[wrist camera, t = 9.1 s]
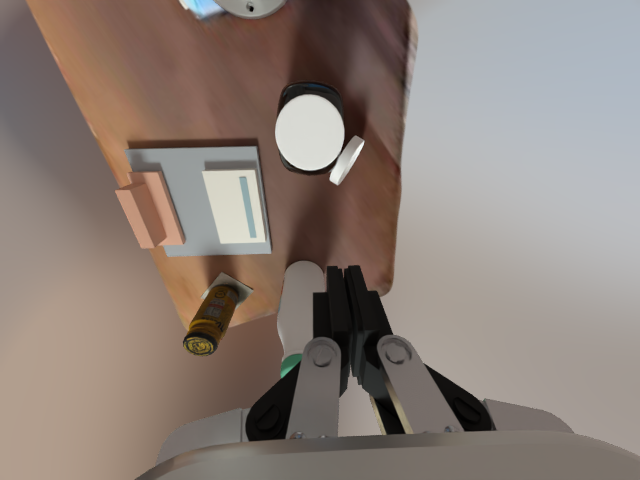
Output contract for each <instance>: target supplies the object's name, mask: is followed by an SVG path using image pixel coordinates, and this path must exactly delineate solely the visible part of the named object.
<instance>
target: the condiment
mask: <svg viewBox="0 0 640 480" xmlns="http://www.w3.org/2000/svg"><path fill="white" fill-rule="evenodd" d="M224 283H225V284H224ZM226 283H228V284H226ZM252 292H253V290H251V289H250V288H248V287H247V286H245V285H243V284H242V283H240V282H239V281H237V280H236V279H233V278H231V277H230V276H228V275H226V274H224V273H223V272H221V273H220V274H219V276H218V277H217V278H216V279H215V281H214V282H213V283H212V284H211V285H210V287H209V288H208V289H207V290H206V291H205V293H204V294H203V295H202V296H201V298H203V299H205V300H204V301H203V303H202V305H201V306H200V308H199V310H198V312H197V313H196V315H195V317H194V318H193V320H192V322H191V323H190V325H189V331H188V333H187V335H186V337H185V338H184V341H183V346H184V348H185V349H186V350H187V351H188V352H190V353H191V354H194V355H198V356H208V355H210V354H212V353H214V351H215V350H216V349H217V347H218V344H219V342H220V340H222V338H223V337H224V336H225V333H226V330H227V328H228V325H229V323H230V321H231V318H232V316H233V313H234V311H235V310H236V309H237V308H238V307H239V305H240V304H241V303H242V302H243V301H245V299H246V298H247V297H248V296H249V295H250V294H251V293H252Z"/></svg>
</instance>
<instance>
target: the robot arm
mask: <svg viewBox="0 0 640 480" xmlns="http://www.w3.org/2000/svg"><path fill="white" fill-rule="evenodd" d="M213 1H214V2H215V3H217V4H218V5H219V6H220V7H221V8H223V9H224V10H225V11H227V12H229V13H231V14H233V15H235V16H238V17H241V18H244V19H260V18H264V17H267V16H269V15H271V14H273V13H275V12H276V11H278V10H279V9H280V8H281V7H282V6H283V5H284V4H285V3H286V2H287V0H213ZM251 7H253V8H254V10H253V12H250V8H251ZM350 364H351V370H352V375H353V377H357V380H358V385H362V388H363V389H364V390H365V391H367V392H368V393H369V396H370V400H371V404H372V407H373V410H374V412H375V415H376V418H377V421H378V424H379V427H380V430H381V433H382V435H371V436H347V437H338V415H339V414H338V413H339V398H340V397H341V395H342V394H343V393H344V392H345V390H346V389H347V383H348V377H349V373H350ZM135 480H640V456H638V455H636V454H634V453H632V452H629V451H627V450H625V449H622V448H620V447H617V446H614V445H612V444H609V443H607V442H604V441H601V440H597V439H594V438H590V437H587V436H583V435H578V434H575V433H574V432H573V431H572V429H571V428H570V427H569V426H568V425H567V424H566V423H564V422H563V421H562V420H561V419H560V418H558V417H556V416H555V415H553V414H552V413H549V412H546V411H543V410H539V409H533V408H529V407H524V406H519V405H514V404H510V403H504V402H500V401H495V400H490V399H484V400H483V401H481V400H478V399H477V398H476V397H474V396H473V395H472V394H470V393H468V392H467V391H466V390H464V389H463V388H461V387H459V386H458V385H456V384H455V383H453V382H452V381H450V380H449V379H447V378H446V377H444V376H442V375H441V374H439V373H438V372H436V371H435V370H433V369H432V368H430V367H429V366H427V365H426V364H424V363H423V362H422V360H421V359H420V357H419V355H418V354H417V352H416V351H415V349H414V347H413V346H412V345H411V343H410V342H409V341H407V340H406V339H405V338H402V337H400V336H397V335H393V333H392V330H391V328H390V325H389V322H388V319H387V316H386V314H385V311H384V308H383V305H382V303H381V300H380V297H379V295H378V292H377V291H368V290H367V287H366V284H365V281H364V278H363V274H362V271H361V268H360V266H359V265H354V266H348V268H347V269H344V278H343V273H342V269H338V267H337V266H327V292H313V339H312V340H311V341H309V342H308V343H307V344H306V346H305V348H304V350H303V355H302V360H301V361H299V362H298V363H297V364H296V365H295V366H294V367H293V368H292V369H291V370H290V371H289V372H288V373H287V374H286V375H285V376H283V377H282V378H281V379H280V380H279V381H278V382H277V383H276V384H275V385H274V386H273V387H272V388H271V389H270V390H269V391H267V392H266V393H265V394H264V395H263V396H262V397H261V398H260V399H259V400H258V401H257V402H256V403H255V404H254V405H253V406H252V407H251V408H248V409H245V410H242V409H241V408H239V409H235V410H232V411H229V412H225V413H222V414H219V415H215V416H212V417H208V418H205V419H201V420H198V421H195V422H191V423H188V424H185V425H183V426H181V427H179V428H177V429H176V430H175V431H173V432H172V433H171V434H170V435H169V436H168V437H167V439H166V440H165V442H164V443H163V445H162V447H161V449H160V452H159V454H158V458H157V462H156V466H155V467H153V468H151V469H149V470H148V471H146V472H145V473H144V474H142V475H141V476H139V477H137V478H136V479H135Z"/></svg>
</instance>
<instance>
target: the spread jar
mask: <svg viewBox="0 0 640 480" xmlns="http://www.w3.org/2000/svg"><path fill="white" fill-rule="evenodd" d="M275 135H276V141H277V145H278V150H279V155H280V158H281V161H282V163H283V165H284V167H285V168H286V169H288V170H289V171H291V172H294V173H297V174H303V175H308V176H310V175H322V174H326V173H329V172H331V171H332V173H331V175H330V181H332V182H333V183H335V184H336V185H339V184H340V183H341V182H342V180H343V179H344V177H345V176H346V175H347V173H348V172H349V170H350V168H351V167H352V165H353V163H354V162H355V160H356V158H357V157H358V155H359V153H360V151H361V149H362V147H363V145H364V140H363V139H361V138H359V137H358V136H356V135H355V136H354V137H353V138H352V139H351V140H350V142H349V143H348V144H347V146H346V147H345V149H344V150H343V152H342V154H341V155H340V153H341V149H342V145H343V141H344V107H343V100H342V96H341V94H340V92H339V91H338V89H337V88H335V87H334V86H332V85H330V84H327V83H324V82H320V81H313V80H303V81H296V82H292V83H289V84H288V85H286V86H285V87H284V88H283V90H282V92H281V95H280V99H279V104H278V110H277V120H276V129H275ZM339 156H340V157H339Z"/></svg>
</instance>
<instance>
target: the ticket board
mask: <svg viewBox="0 0 640 480" xmlns="http://www.w3.org/2000/svg"><path fill="white" fill-rule="evenodd" d="M124 151H125V153H126V156H127V158H128V161H129V163H130V166H131V168H132V171H133V172H142V171H161V172H162V175H163V178H164V181H165V183H166V186H167V189H168V192H169V195H170V198H171V201H172V204H173V206H174V209H175V212H176V215H177V218H178V221H179V224H180V227H181V229H182V232H183V235H184V238H185V241H186V243H185V244H184V245H163V247H164V249H165V252H166V254H167V257H171V256H203V255H236V254H268V253H272V245H271V238H270V231H269V224H268V217H267V210H266V202H265V195H264V188H263V181H262V174H261V167H260V159H259V152H258V146H227V147H183V148H139V149H125V150H124Z"/></svg>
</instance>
